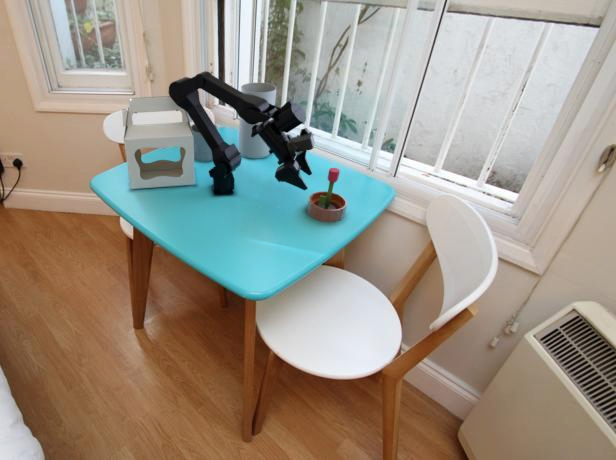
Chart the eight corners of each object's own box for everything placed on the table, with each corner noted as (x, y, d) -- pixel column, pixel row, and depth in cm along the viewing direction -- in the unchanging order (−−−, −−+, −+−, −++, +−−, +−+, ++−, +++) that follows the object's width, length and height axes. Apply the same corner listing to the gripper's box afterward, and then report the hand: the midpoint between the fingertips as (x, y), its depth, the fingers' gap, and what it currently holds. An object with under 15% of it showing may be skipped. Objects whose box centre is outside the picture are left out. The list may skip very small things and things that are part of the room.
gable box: (192, 168, 139) (189, 89, 123) (195, 184, 128) (193, 100, 112) (131, 172, 137) (120, 93, 121) (129, 189, 126) (117, 105, 111)
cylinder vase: (272, 159, 143) (279, 92, 129) (239, 159, 144) (242, 93, 129) (267, 145, 153) (273, 82, 139) (236, 146, 154) (239, 82, 139)
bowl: (313, 224, 109) (316, 211, 106) (302, 204, 117) (304, 192, 114) (349, 222, 109) (352, 209, 106) (335, 203, 118) (338, 190, 115)
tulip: (335, 208, 114) (345, 167, 106) (334, 218, 110) (344, 176, 102) (316, 205, 116) (325, 164, 107) (314, 215, 112) (323, 172, 103)
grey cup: (200, 149, 152) (200, 120, 145) (222, 155, 147) (222, 125, 140) (185, 158, 145) (184, 128, 138) (207, 165, 140) (207, 134, 133)
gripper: (294, 136, 94) (330, 183, 97) (305, 111, 107) (336, 153, 111) (259, 159, 101) (294, 202, 104) (274, 133, 114) (304, 172, 118)
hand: (308, 181), depth 109 cm, fingers open, 9 cm apart
